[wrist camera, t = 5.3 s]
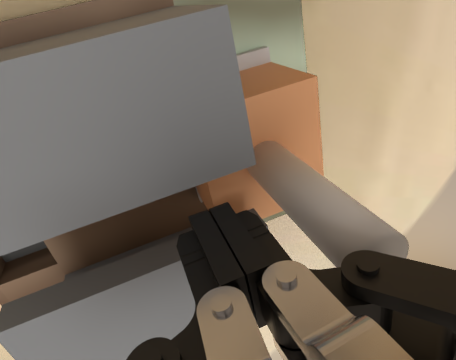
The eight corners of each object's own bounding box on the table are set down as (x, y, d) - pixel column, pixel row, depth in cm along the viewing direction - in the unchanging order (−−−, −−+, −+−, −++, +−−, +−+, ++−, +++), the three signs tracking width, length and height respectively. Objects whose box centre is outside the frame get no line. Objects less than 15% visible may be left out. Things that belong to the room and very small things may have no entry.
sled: (162, 75, 18) (264, 179, 7) (264, 46, 19) (488, 96, 8) (199, 198, 22) (299, 384, 11) (281, 168, 23) (446, 310, 12)
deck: (-156, 59, 15) (-195, 67, 13) (275, -42, 20) (297, -48, 18) (22, 293, 24) (14, 321, 21) (300, 186, 28) (317, 201, 26)
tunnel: (-68, 65, 15) (-207, 114, 8) (174, 5, 17) (227, 4, 10) (71, 285, 22) (61, 410, 15) (229, 224, 24) (282, 309, 17)
